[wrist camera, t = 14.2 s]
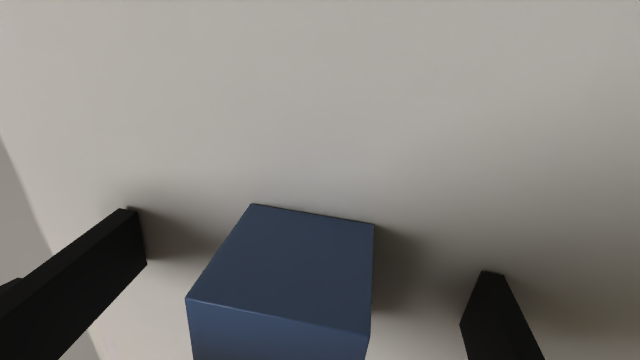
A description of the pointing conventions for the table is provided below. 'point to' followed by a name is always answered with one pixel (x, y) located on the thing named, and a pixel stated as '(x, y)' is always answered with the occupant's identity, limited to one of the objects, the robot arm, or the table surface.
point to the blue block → (285, 290)
